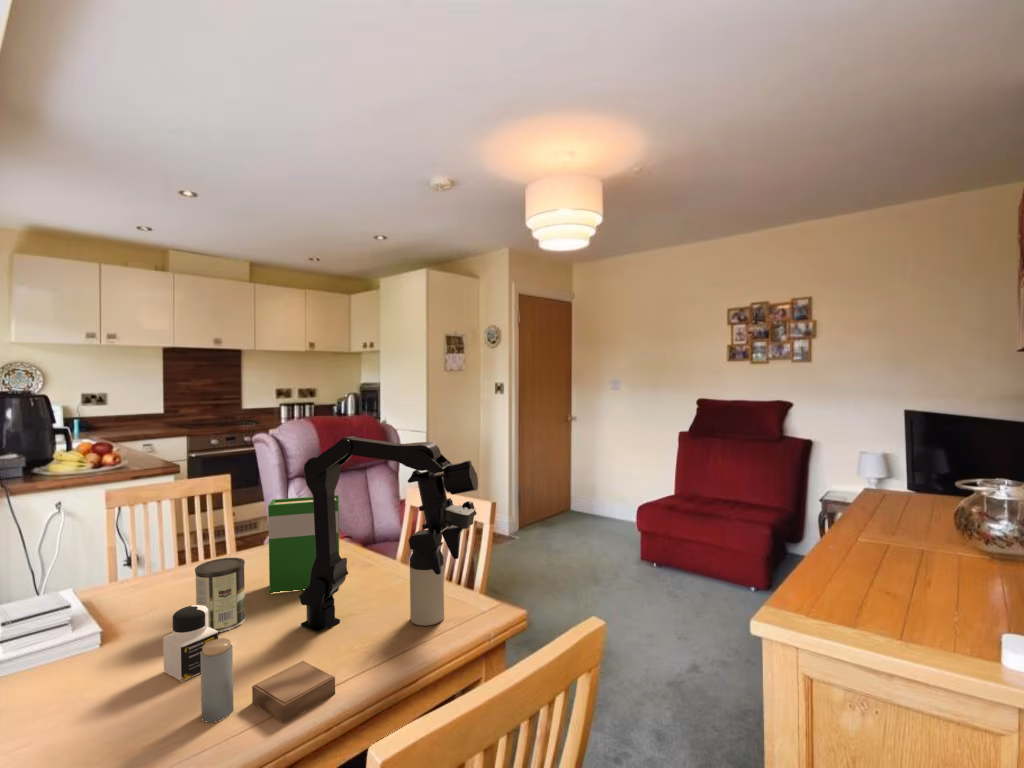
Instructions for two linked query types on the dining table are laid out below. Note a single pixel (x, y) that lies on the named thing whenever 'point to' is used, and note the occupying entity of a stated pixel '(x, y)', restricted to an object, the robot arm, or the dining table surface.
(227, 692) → the spice jar
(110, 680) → the dining table surface
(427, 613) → the travel mug
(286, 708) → the walnut block
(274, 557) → the hardback book
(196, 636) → the medicine bottle
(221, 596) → the coffee can
